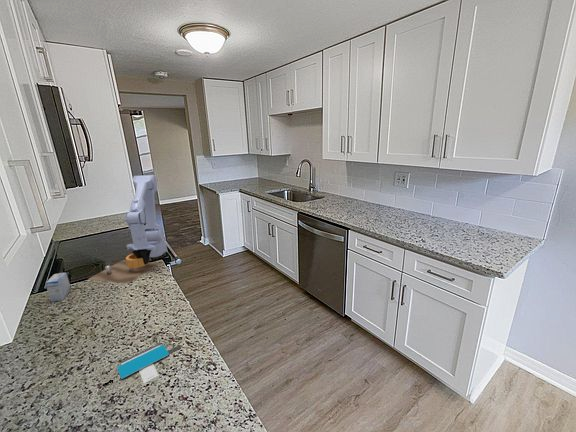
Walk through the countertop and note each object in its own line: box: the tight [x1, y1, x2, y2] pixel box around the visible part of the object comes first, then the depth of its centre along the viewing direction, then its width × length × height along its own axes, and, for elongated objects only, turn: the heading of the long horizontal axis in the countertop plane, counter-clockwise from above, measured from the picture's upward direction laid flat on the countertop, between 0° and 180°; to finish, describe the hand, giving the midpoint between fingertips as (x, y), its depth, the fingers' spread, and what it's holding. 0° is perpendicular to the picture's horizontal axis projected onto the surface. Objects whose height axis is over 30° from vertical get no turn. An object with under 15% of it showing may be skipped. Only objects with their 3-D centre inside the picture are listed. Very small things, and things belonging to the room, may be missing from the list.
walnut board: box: [87, 259, 160, 284], centre depth 127 cm, size 20×22×2 cm
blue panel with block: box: [117, 342, 182, 385], centre depth 74 cm, size 20×12×2 cm, turn 130°
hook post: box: [104, 264, 112, 275], centre depth 123 cm, size 2×2×4 cm
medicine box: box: [45, 272, 72, 302], centre depth 109 cm, size 8×4×9 cm, turn 21°
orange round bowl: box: [125, 253, 148, 268], centre depth 127 cm, size 9×9×4 cm
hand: (144, 263), depth 127 cm, fingers closed on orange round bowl, 2 cm apart
